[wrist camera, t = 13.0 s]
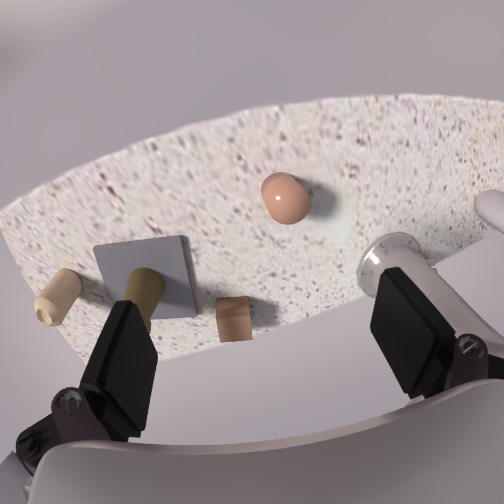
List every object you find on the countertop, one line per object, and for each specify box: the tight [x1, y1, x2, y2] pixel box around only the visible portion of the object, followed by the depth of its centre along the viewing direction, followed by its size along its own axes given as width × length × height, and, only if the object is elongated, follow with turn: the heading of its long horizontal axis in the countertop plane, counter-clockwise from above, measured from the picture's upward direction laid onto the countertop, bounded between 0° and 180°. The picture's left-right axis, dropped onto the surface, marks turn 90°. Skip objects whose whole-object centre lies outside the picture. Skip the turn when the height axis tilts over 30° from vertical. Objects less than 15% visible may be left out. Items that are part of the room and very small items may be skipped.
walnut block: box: [216, 296, 252, 343], centre depth 43 cm, size 5×5×5 cm
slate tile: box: [93, 235, 197, 320], centre depth 41 cm, size 14×14×1 cm
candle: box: [34, 269, 82, 326], centre depth 36 cm, size 6×6×10 cm
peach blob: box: [261, 172, 310, 225], centre depth 34 cm, size 5×5×6 cm
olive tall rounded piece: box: [123, 268, 165, 334], centre depth 35 cm, size 6×6×11 cm
